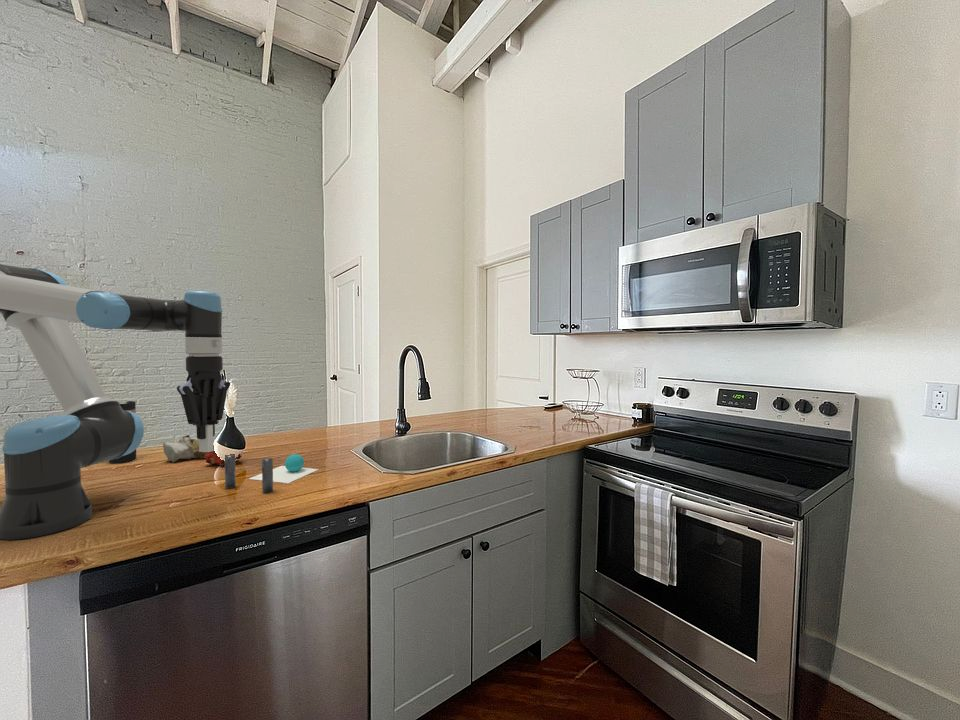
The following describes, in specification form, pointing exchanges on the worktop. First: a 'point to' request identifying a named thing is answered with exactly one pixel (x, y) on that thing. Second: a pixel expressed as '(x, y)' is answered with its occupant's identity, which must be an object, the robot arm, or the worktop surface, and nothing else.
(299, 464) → the ball
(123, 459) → the travel mug
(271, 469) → the gate post right
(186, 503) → the worktop surface
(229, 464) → the gate post left
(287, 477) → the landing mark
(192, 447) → the grey rock
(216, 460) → the dragon fruit
